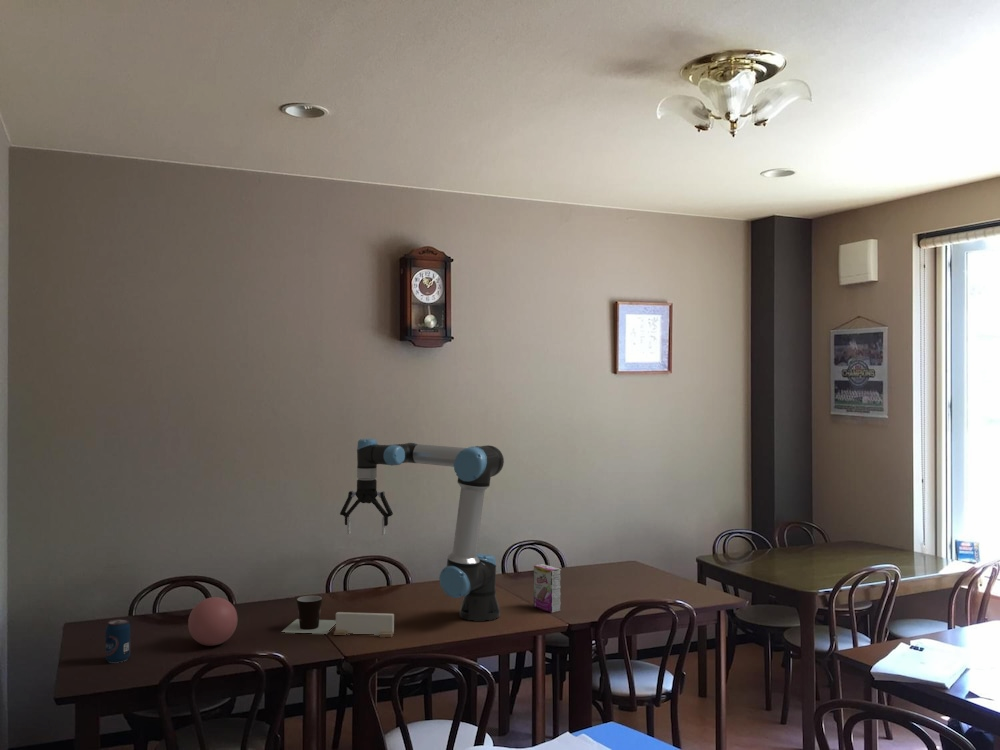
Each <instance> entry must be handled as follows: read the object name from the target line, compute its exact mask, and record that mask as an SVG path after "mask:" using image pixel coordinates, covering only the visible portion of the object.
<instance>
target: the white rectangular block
mask: <svg viewBox="0 0 1000 750" xmlns="http://www.w3.org/2000/svg"><path fill="white" fill-rule="evenodd" d="M335 620H336V625H335V631H334V632H333V636H334V635H346V634H347V635H349V634H348V633H353V634H374V635H373V636H379V635H380V636H379V638H385V637H391V638H392V637H393V636H394V635H393V634H395V632H394V631H395V614H394V613H383V612H382V613H381V612H380V613H379V612H377V613H375V612H345V611H337V612H336V613H335ZM347 635H346V636H347Z"/></svg>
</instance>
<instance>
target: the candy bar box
mask: <svg viewBox="0 0 1000 750" xmlns="http://www.w3.org/2000/svg"><path fill="white" fill-rule="evenodd" d="M561 571H562V569H561V568H558V567H554V566H551V565H548V564H544V563H540V564H535V565H533V608H536V607H537V609H540V610H542V611H545V612H547V613H551V614H553V613H554V612H555V613H559V612H561V611H562V609H561V608H562V607H561V605H562V604H561V602H562V601H561V600H562V598H561V596H562V592H561V591H562V590H561V589H562V583H561V582H562V581H561V578H562V576H561V575H562V573H561Z"/></svg>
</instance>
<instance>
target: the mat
mask: <svg viewBox="0 0 1000 750" xmlns="http://www.w3.org/2000/svg"><path fill="white" fill-rule="evenodd" d="M335 624H336V619H319V626H318V628H316V629H311V630H304V629H301V628H300V623H299V618H296V619H294V620H293V622H291V623H290V624H289V625H287V626H286V627H285V628H284V629H283V630H282V631H281V632H285V633H284V634H295V633H312V634H311V635H324V634H326V635H327V634H328V633H329V632H330V631H331V630H332V629H333V628H334V627H335V626H336V625H335ZM334 625H335V626H334ZM333 626H334V627H333ZM332 627H333V628H332ZM331 628H332V629H331ZM330 629H331V630H330ZM329 630H330V631H329Z"/></svg>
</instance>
